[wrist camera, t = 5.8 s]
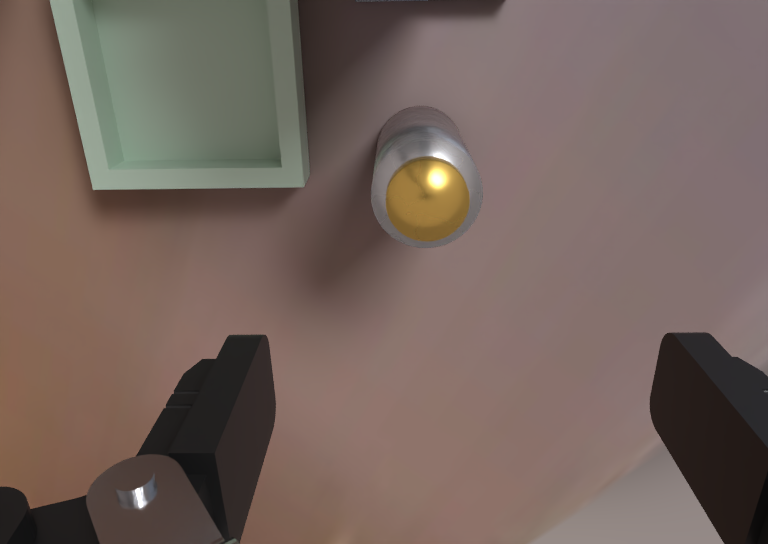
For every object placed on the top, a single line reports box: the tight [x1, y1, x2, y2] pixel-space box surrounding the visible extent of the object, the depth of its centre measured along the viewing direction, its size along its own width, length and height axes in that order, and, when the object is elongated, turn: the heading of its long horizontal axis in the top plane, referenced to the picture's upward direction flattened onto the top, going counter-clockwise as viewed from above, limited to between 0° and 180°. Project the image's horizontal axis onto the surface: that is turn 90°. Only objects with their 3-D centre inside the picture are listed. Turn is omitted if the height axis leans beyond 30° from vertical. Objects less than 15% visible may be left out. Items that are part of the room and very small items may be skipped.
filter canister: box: [371, 106, 483, 248], centre depth 27 cm, size 4×4×9 cm
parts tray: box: [50, 0, 310, 190], centre depth 28 cm, size 10×10×2 cm
